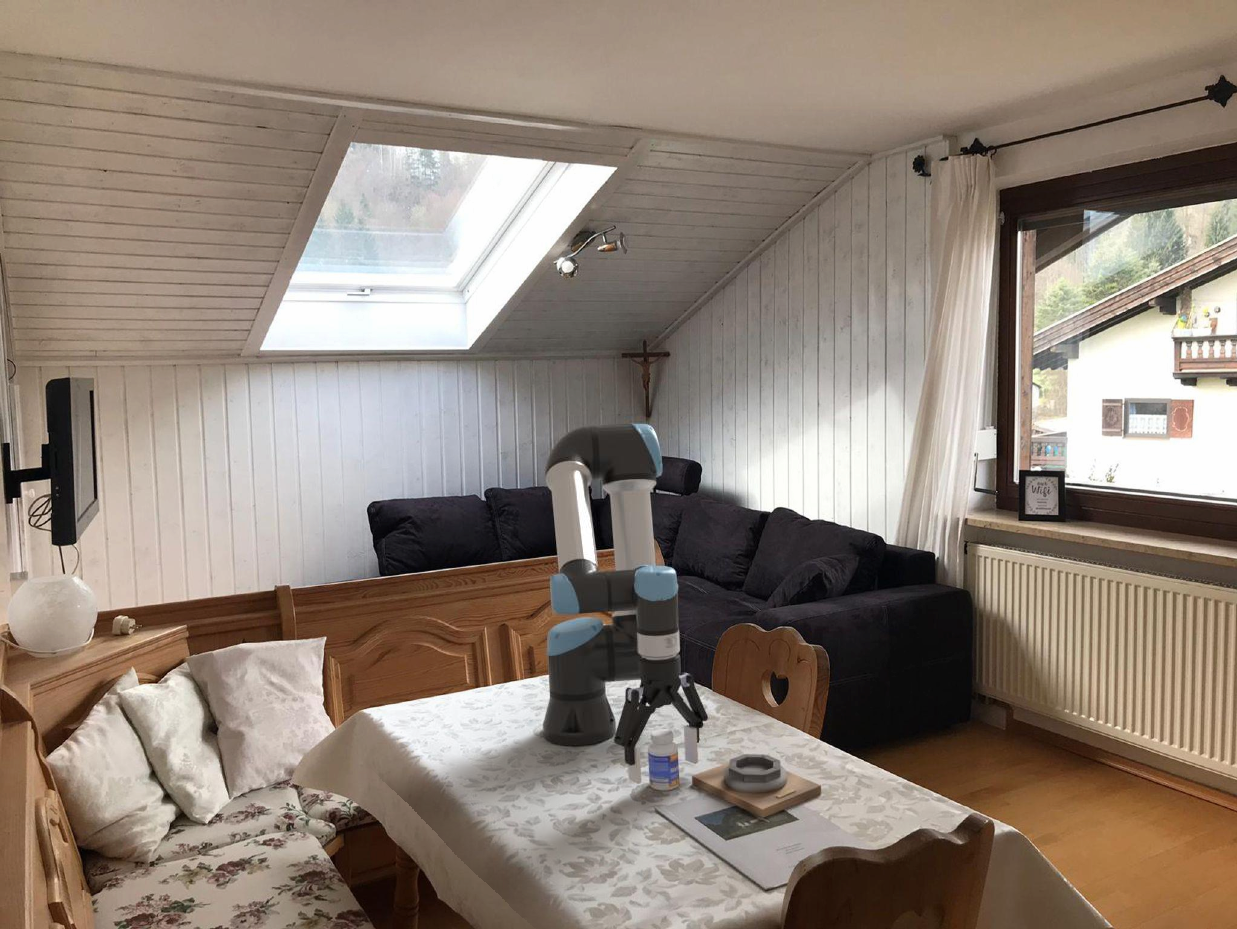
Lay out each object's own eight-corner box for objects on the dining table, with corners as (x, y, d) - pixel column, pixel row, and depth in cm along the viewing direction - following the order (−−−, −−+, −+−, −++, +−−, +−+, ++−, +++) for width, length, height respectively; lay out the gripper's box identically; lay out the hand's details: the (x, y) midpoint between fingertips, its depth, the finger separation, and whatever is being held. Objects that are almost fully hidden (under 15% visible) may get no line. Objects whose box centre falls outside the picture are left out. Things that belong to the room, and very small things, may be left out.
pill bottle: (677, 792, 175) (675, 738, 174) (647, 790, 176) (644, 737, 175) (681, 779, 180) (679, 727, 179) (652, 778, 181) (649, 726, 180)
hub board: (692, 783, 178) (691, 759, 177) (749, 763, 186) (748, 739, 185) (762, 818, 163) (761, 791, 163) (821, 793, 171) (820, 768, 171)
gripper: (615, 673, 165) (621, 797, 167) (724, 644, 180) (728, 759, 182) (590, 664, 171) (596, 783, 173) (697, 636, 186) (701, 747, 188)
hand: (663, 771), depth 177 cm, fingers open, 12 cm apart
